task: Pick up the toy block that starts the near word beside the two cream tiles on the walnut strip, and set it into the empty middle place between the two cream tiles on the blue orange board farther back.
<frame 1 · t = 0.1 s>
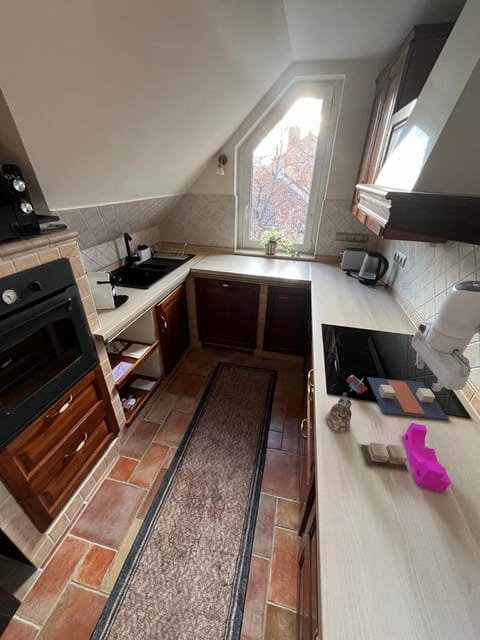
hand: (426, 377, 75), 22 cm above the worktop, tool pointing down, fingers open, 8 cm apart
toy block: (421, 462, 75), on the worktop
word strip left: (382, 457, 76), on the worktop
figurine: (337, 422, 87), on the worktop
geometric puzzle: (354, 391, 99), on the worktop
blue orange board: (403, 397, 97), on the worktop
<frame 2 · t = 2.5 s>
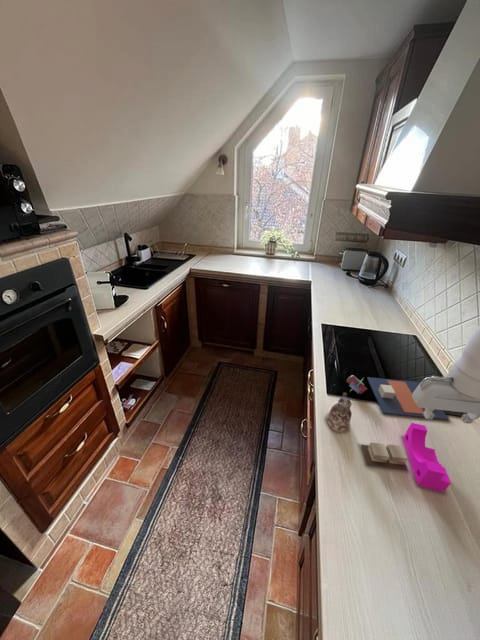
hand: (446, 419, 67), 18 cm above the worktop, tool pointing down, fingers open, 8 cm apart
nothing on the worktop moved.
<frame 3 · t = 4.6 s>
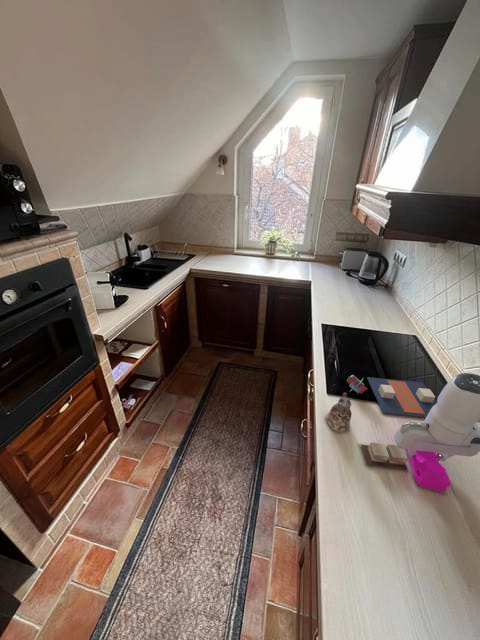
hand: (425, 457, 74), 3 cm above the worktop, tool pointing down, fingers closed on toy block, 6 cm apart
toy block: (421, 462, 75), on the worktop, touching gripper
everything else where it was.
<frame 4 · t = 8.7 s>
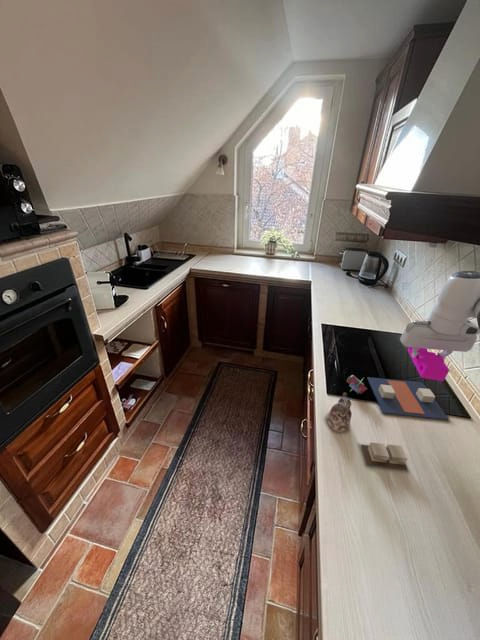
hand: (427, 357, 85), 21 cm above the worktop, tool pointing down, fingers closed on toy block, 6 cm apart
toy block: (423, 364, 86), point 18 cm above the worktop, touching gripper
everything else where it was.
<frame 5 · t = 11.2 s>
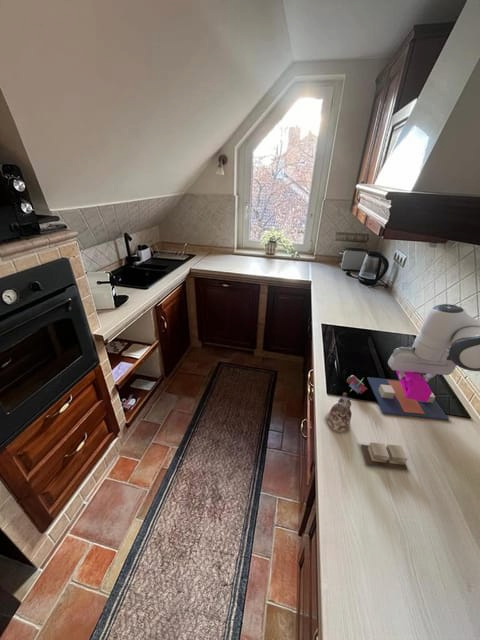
hand: (412, 379, 92), 9 cm above the worktop, tool pointing down, fingers closed on toy block, 6 cm apart
toy block: (409, 385, 94), point 7 cm above the worktop, touching gripper
everything else where it was.
when the fingers open (4 cm above the worktop, at t = 13.5 s): toy block stays where it is, resting on blue orange board.
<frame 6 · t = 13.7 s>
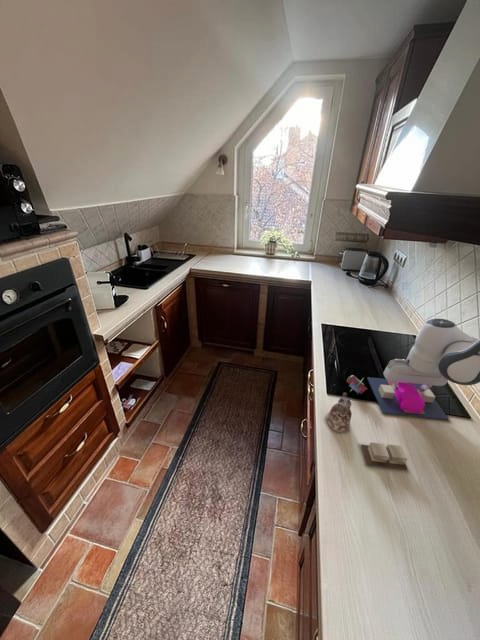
hand: (407, 389, 95), 4 cm above the worktop, tool pointing down, fingers open, 8 cm apart
toy block: (404, 396, 97), point 1 cm above the worktop, touching blue orange board
everything else where it was.
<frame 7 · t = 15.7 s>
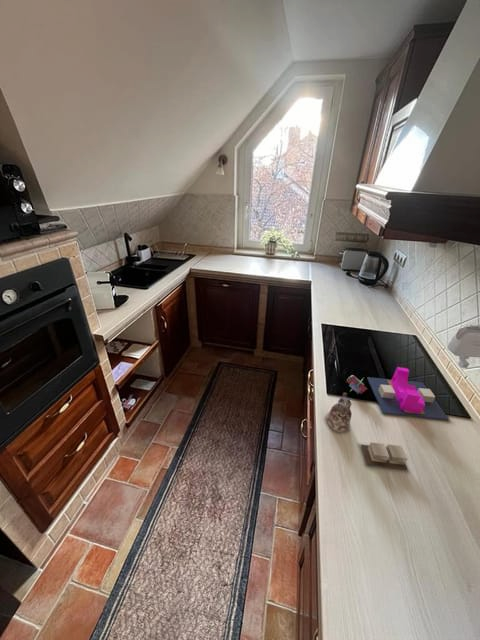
hand: (479, 367, 73), 26 cm above the worktop, tool pointing down, fingers open, 8 cm apart
nothing on the worktop moved.
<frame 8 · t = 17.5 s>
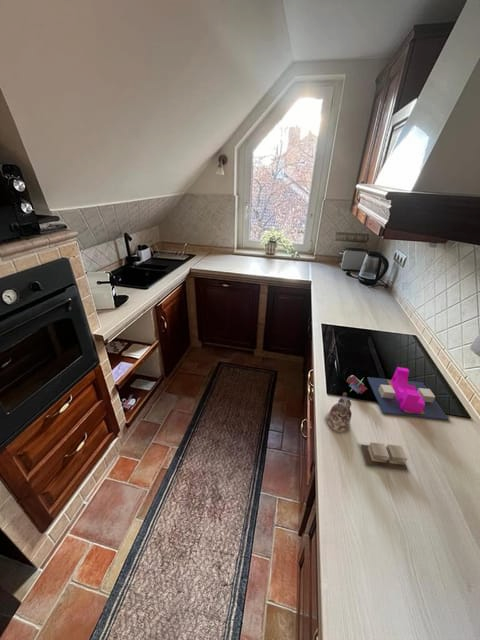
nothing on the worktop moved.
at the end: toy block 0.1 cm off-centre on the blue orange board, point 0.8 cm above the blue orange board's base; toy block tilted 0° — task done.
